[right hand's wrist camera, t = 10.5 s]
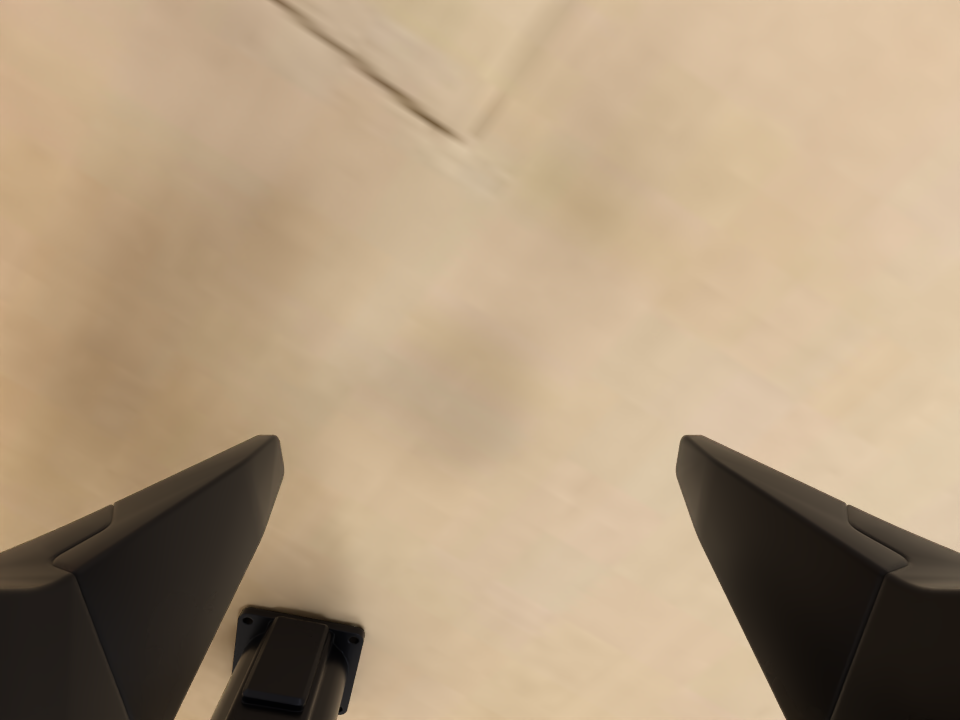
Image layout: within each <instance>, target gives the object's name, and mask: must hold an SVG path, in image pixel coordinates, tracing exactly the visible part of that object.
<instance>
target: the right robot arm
mask: <svg viewBox="0 0 960 720" xmlns="http://www.w3.org/2000/svg"><path fill="white" fill-rule="evenodd" d="M283 476H284V464H283V458H282V452H281V446H280V441H279V439H278V437H277V436H276V435H258V436H255V437H253V438H251V439H249V440H247V441H245V442H243V443H240V444H238V445H236V446H234V447H232V448H230V449H228V450H226V451H223V452H221V453H219V454H217V455H215V456H213V457H211V458H209V459H206V460H204V461H202V462H200V463H198V464H196V465H194V466H192V467H189V468H187V469H185V470H183V471H181V472H179V473H177V474H175V475H172V476H170V477H168V478H166V479H164V480H162V481H160V482H158V483H156V484H153V485H151V486H149V487H147V488H145V489H143V490H141V491H139V492H136V493H134V494H132V495H130V496H128V497H126V498H124V499H122V500H119V501H117V502H115V503H114V506H113V505H109V506H107V507H104V508H102V509H100V510H98V511H96V512H94V513H92V514H89V515H87V516H85V517H83V518H81V519H78V520H76V521H74V522H72V523H70V524H67V525H65V526H63V527H61V528H58V529H56V530H54V531H51V532H49V533H47V534H44V535H42V536H40V537H37V538H35V539H33V540H30V541H28V542H25V543H23V544H21V545H18V546H16V547H13V548H11V549H9V550H6V551H4V552H1V553H0V720H174V718H175V716H176V714H177V712H178V710H179V708H180V706H181V704H182V702H183V700H184V698H185V696H186V694H187V691H188V689H189V687H190V685H191V683H192V681H193V679H194V677H195V675H196V673H197V671H198V669H199V667H200V665H201V663H202V660H203V658H204V656H205V654H206V652H207V650H208V648H209V646H210V644H211V642H212V640H213V638H214V636H215V634H216V632H217V630H218V627H219V625H220V623H221V621H222V619H223V617H224V615H225V613H226V611H227V609H228V607H229V605H230V603H231V601H232V599H233V597H234V594H235V592H236V590H237V588H238V586H239V584H240V582H241V580H242V578H243V576H244V574H245V572H246V570H247V568H248V566H249V564H250V561H251V559H252V557H253V555H254V553H255V551H256V549H257V547H258V545H259V543H260V541H261V538H262V536H263V534H264V531H265V528H266V526H267V523H268V520H269V517H270V514H271V511H272V509H273V506H274V503H275V500H276V497H277V494H278V491H279V488H280V485H281V482H282V480H283ZM676 476H677V480H678V482H679V485H680V488H681V491H682V494H683V497H684V500H685V503H686V506H687V509H688V511H689V514H690V517H691V520H692V523H693V526H694V528H695V531H696V534H697V536H698V538H699V541H700V543H701V545H702V547H703V549H704V551H705V553H706V555H707V557H708V559H709V561H710V564H711V566H712V568H713V570H714V572H715V574H716V576H717V578H718V580H719V582H720V584H721V586H722V588H723V590H724V592H725V594H726V597H727V599H728V601H729V603H730V605H731V607H732V609H733V611H734V613H735V615H736V617H737V619H738V621H739V623H740V625H741V627H742V630H743V632H744V634H745V636H746V638H747V640H748V642H749V644H750V646H751V648H752V650H753V652H754V654H755V656H756V658H757V661H758V663H759V665H760V667H761V669H762V671H763V673H764V675H765V677H766V679H767V681H768V683H769V685H770V687H771V689H772V691H773V694H774V696H775V698H776V700H777V702H778V704H779V706H780V708H781V710H782V712H783V714H784V716H785V718H786V720H960V553H959V552H956V551H954V550H951V549H949V548H947V547H944V546H942V545H939V544H937V543H935V542H932V541H930V540H927V539H925V538H923V537H920V536H918V535H916V534H913V533H911V532H909V531H906V530H904V529H902V528H899V527H897V526H895V525H893V524H890V523H888V522H886V521H884V520H882V519H879V518H877V517H875V516H873V515H871V514H868V513H866V512H864V511H862V510H860V509H858V508H856V507H853V506H851V505H847V506H846V503H845V502H843V501H841V500H838V499H836V498H834V497H832V496H830V495H828V494H826V493H824V492H821V491H819V490H817V489H815V488H813V487H811V486H809V485H807V484H804V483H802V482H800V481H798V480H796V479H794V478H792V477H790V476H788V475H785V474H783V473H781V472H779V471H777V470H775V469H773V468H771V467H768V466H766V465H764V464H762V463H760V462H758V461H756V460H754V459H751V458H749V457H747V456H745V455H743V454H741V453H739V452H737V451H734V450H732V449H730V448H728V447H726V446H724V445H722V444H720V443H717V442H715V441H713V440H711V439H709V438H707V437H705V436H702V435H684V436H683V437H682V439H681V441H680V446H679V452H678V458H677V464H676ZM364 637H365V632H364V631H363V630H362V629H361V628H359V627H354V626H349V625H344V624H338V623H333V622H327V621H322V620H317V619H311V618H306V617H300V616H295V615H290V614H284V613H279V612H273V611H268V610H263V609H257V608H251V607H248V608H245V609H243V610H242V612H241V614H240V616H239V618H238V625H237V634H236V643H235V652H234V661H233V670H232V676H231V678H230V680H229V682H228V684H227V686H226V688H225V690H224V692H223V694H222V696H221V699H220V701H219V703H218V705H217V707H216V709H215V711H214V713H213V715H212V717H211V719H210V720H337V716H338V715H342V714H344V713H346V711H347V708H348V704H349V700H350V696H351V692H352V687H353V683H354V679H355V675H356V671H357V667H358V662H359V658H360V654H361V650H362V646H363V641H364Z"/></svg>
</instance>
